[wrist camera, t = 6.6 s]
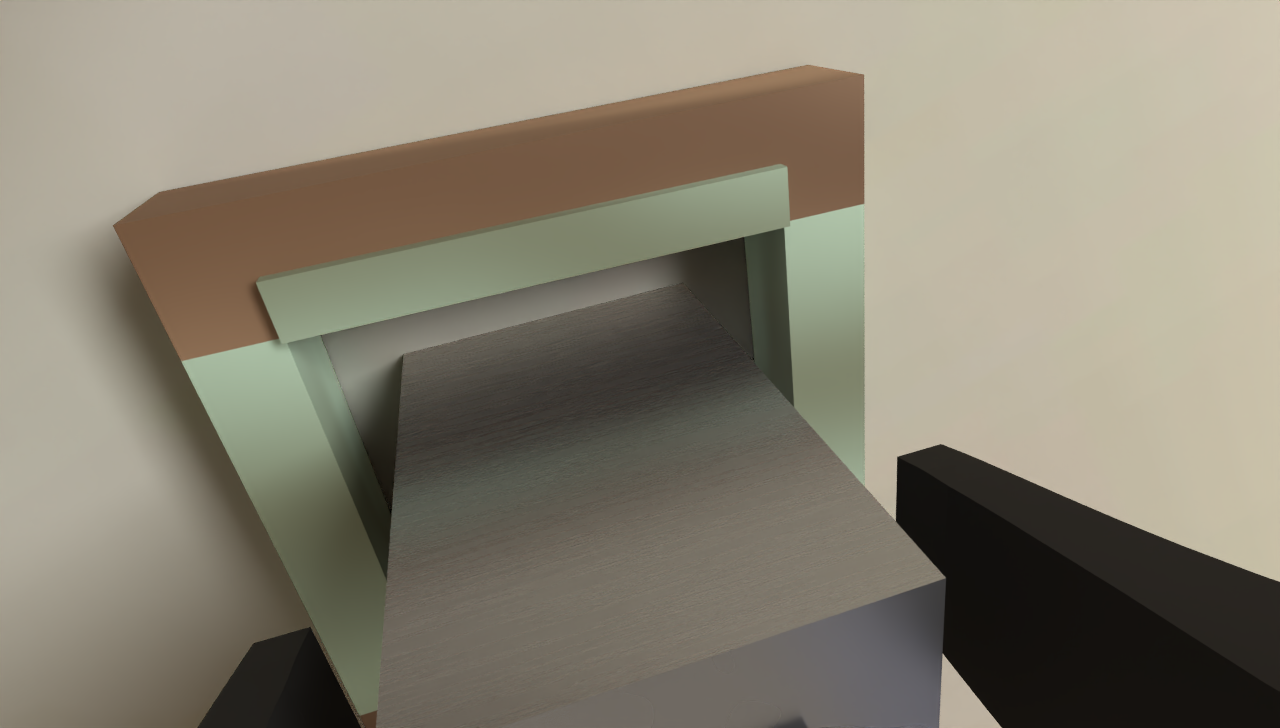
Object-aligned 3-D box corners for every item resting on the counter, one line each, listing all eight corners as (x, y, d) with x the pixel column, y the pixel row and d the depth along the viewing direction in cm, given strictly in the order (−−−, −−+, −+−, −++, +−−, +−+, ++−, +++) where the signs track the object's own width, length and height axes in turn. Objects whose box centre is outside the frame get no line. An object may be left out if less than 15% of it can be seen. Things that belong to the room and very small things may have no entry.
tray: (835, 837, 20) (869, 906, 19) (512, 957, 19) (520, 1043, 17) (808, 64, 11) (871, 75, 9) (158, 191, 9) (105, 230, 8)
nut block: (714, 498, 14) (940, 896, 8) (481, 569, 13) (525, 1064, 7) (683, 282, 12) (956, 591, 6) (403, 353, 11) (371, 788, 5)
